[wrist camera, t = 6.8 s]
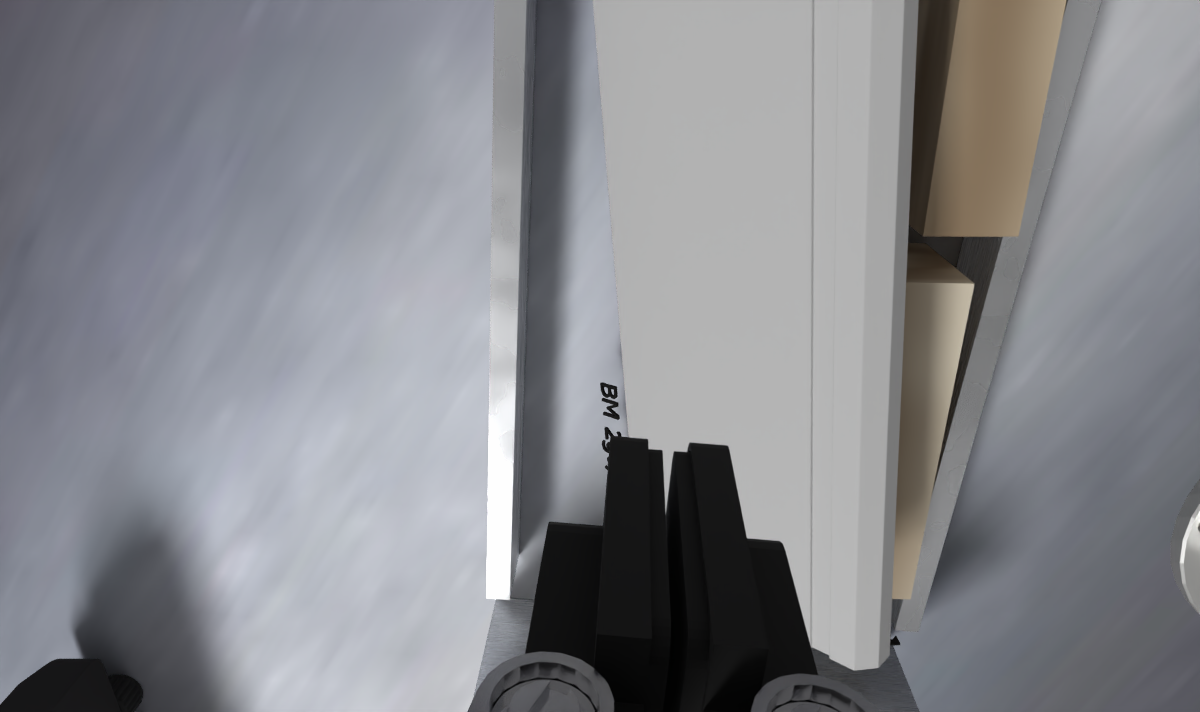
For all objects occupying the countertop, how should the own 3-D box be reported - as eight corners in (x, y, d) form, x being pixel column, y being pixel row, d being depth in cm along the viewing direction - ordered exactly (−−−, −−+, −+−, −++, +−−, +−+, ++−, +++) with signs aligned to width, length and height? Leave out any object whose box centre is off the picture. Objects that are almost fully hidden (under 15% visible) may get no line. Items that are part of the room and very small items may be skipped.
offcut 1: (923, 241, 31) (974, 283, 27) (874, 523, 36) (910, 599, 32) (844, 240, 31) (882, 281, 27) (807, 522, 36) (833, 597, 32)
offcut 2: (1031, -215, 25) (1120, -262, 21) (960, 200, 30) (1018, 236, 26) (933, -213, 25) (1000, -260, 21) (879, 200, 31) (922, 236, 26)
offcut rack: (1190, -506, 22) (1464, -754, 15) (881, 644, 39) (939, 793, 31) (518, -552, 22) (463, -821, 15) (495, 613, 39) (464, 756, 32)
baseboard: (530, -306, 25) (909, -527, 17) (597, -287, 27) (968, -475, 18) (612, 554, 35) (868, 681, 27) (656, 525, 37) (908, 636, 29)
